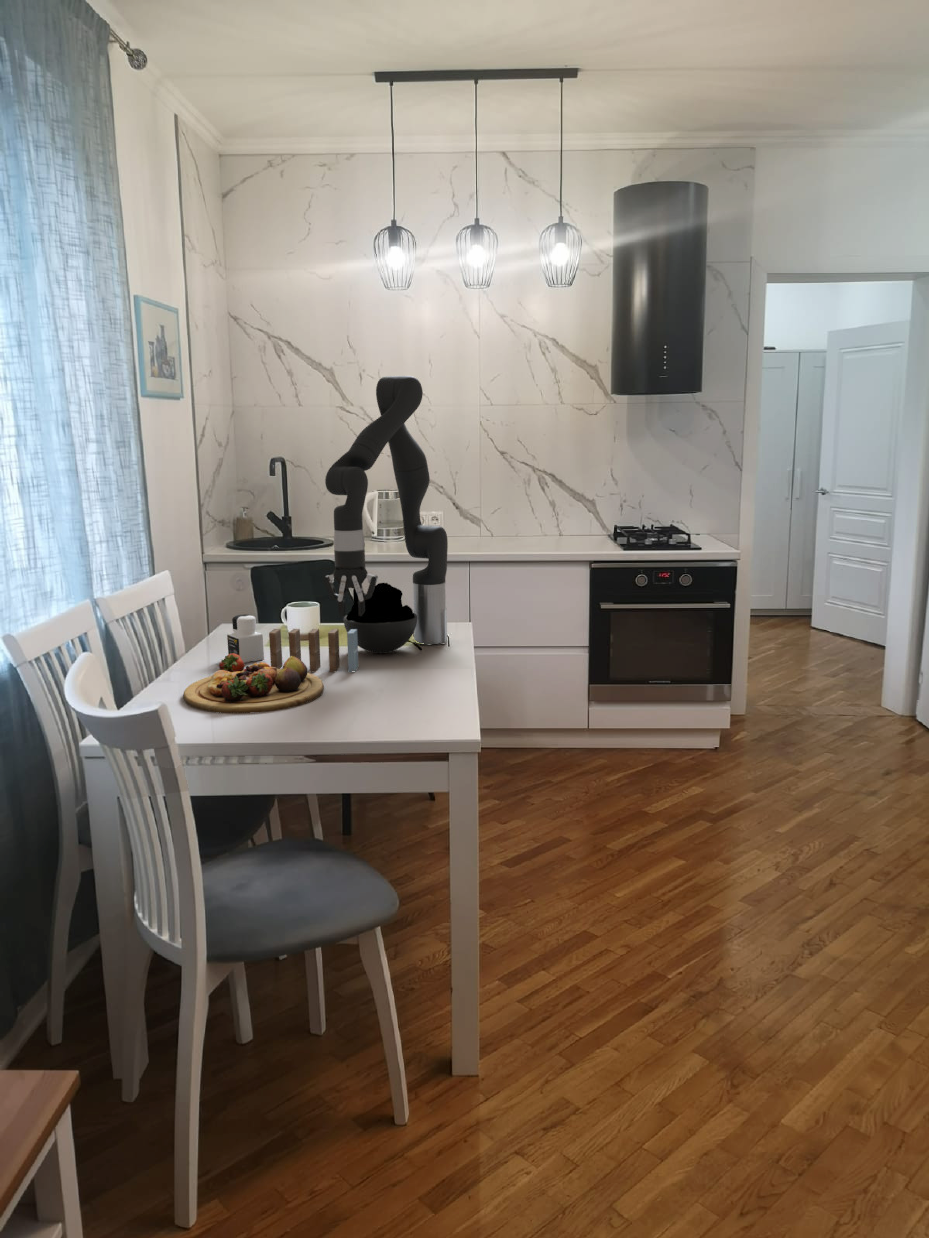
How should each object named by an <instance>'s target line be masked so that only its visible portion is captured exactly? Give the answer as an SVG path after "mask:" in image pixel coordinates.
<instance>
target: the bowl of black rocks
mask: <svg viewBox="0 0 929 1238" xmlns="http://www.w3.org/2000/svg"><path fill="white" fill-rule="evenodd" d="M352 589H353V588H352ZM352 592H353V593H352V594H353V595H352V596H353V597H352V598H353V604H352V605H351V610H350V611H349V612H348V613H347V614H345V616H343V617H342V618H343V625H344V629H345V631H346V634H347V633H348V632H349V631H350V630H351V629H357V640H358V647H360V649H362V650H365V651H366V652H370V653H373V654H386V653H391V652H395V651H397V650H399V649H400V648H402V647H403V646H404V645H405V644H406V643H407V642H409V640H410V639H411V638H412V636H413V635H414V630H415V628H416V624H417V615H416V614H415V613H414V611H413V609H412V608H411V606H410V605H408V604H404V605H403V602H402V597H403V591H402V590H401V589H399V588H397V587H395V586H392V585H391V584H390V583H388V582H379V583H376V585H375V588H374V591H373V595H372V597H371V598H370V599H367V600H365V613H364V614H363V615H362V616H359V611H358V602H359V598H358V595H357V593H356V590H355V589H353V590H352ZM364 594H366V593H365V592H364Z"/></svg>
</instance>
